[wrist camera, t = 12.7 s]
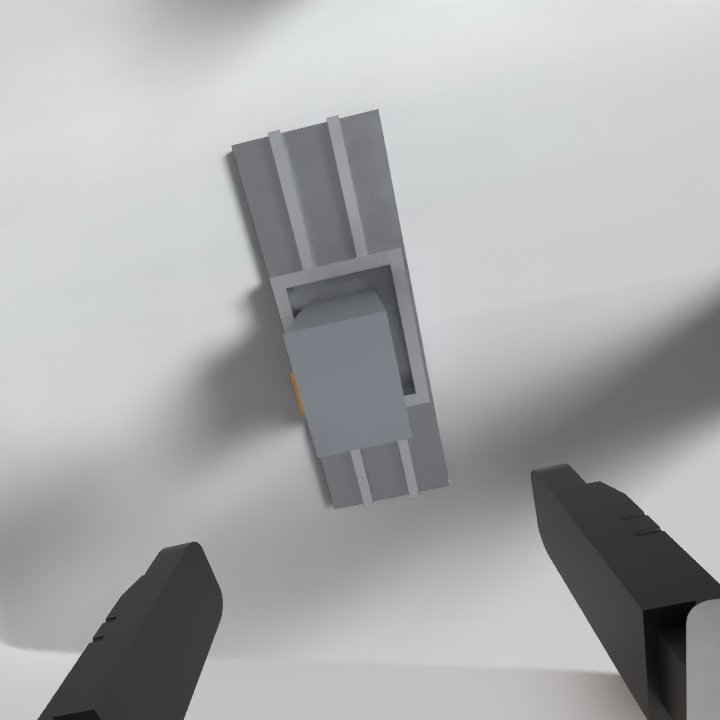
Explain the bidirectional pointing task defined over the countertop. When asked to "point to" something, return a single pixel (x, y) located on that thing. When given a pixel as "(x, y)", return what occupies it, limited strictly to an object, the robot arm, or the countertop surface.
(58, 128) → the countertop surface
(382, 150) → the rail
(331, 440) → the module
